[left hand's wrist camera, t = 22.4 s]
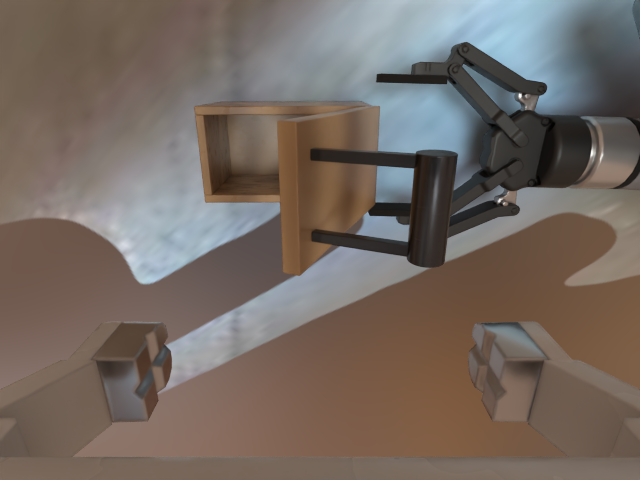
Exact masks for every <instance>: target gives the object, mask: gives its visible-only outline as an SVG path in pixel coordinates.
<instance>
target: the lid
mask: <svg viewBox="0 0 640 480" xmlns="http://www.w3.org/2000/svg"><path fill="white" fill-rule="evenodd" d="M379 116H380V106H365V107H358V108H352V109H346V110H340V111H334V112H328V113H322V114H316V115H310V116H304V117H298V118H292V119H286V120H280V121H277V138H278V162H279V186H280V209H281V233H282V257H283V272H284V273H288V274H293V275H298V276H300V275H301V274H302V273H303V272H304V271H305V270H307V269H308V268H309V267H310V266H311V265H312V264H313V263H314V262H315V261H316V260H317V259H318V258H319V257H320V256H321V255H322V254H323V253H324V252H325V251H326V250H328V249H329V248H330V247H331V246H332V245H337V246H343V247H349V248H356V249H362V250H368V251H375V252H381V253H387V254H394V255H400V256H406V257H407V260H408V261H409V262H410V263H412V264H414V265H416V266H420V267H429V268H431V267H439V266H441V265H443V264H444V262H445V254H446V246H447V237H448V229H449V221H450V213H451V205H452V197H453V189H454V181H455V173H456V165H457V157H458V154H457V153H455V152H452V151H445V150H421V151H417V152H416V154H415V153H399V152H382V151H378V136H379ZM377 166H389V167H403V168H414V178H413V190H412V202H411V214H410V225H409V237H408V242H403V241H396V240H389V239H382V238H375V237H369V236H362V235H355V234H348V233H345V232H346V231H348V230H349V229H350V228H351V227H352V226H353V225H354V224H355V223H356V222H357V221H358V220H359V219H360V218H361V217H362V216H363V215H364V214H365V213H367V212H368V211H369V210H370V209H371V208H372V207H373V206H374V205H375V196H376V176H377Z"/></svg>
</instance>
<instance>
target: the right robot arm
mask: <svg viewBox="0 0 640 480" xmlns="http://www.w3.org/2000/svg"><path fill="white" fill-rule="evenodd" d="M632 12H633V16H634V20H635V23H636V26H637V30H638V34H639V38H640V0H635V2H634V5H633V10H632ZM463 63H464V64H465V65H467V66H468V67H470V68H472V69H473V70H475V71H476V72H478V73H480V74H481V75H483V76H484V77H486V78H487V79H489V80H491V81H492V82H494V83H495V84H497V85H499V86H500V87H502V88H503V89H505V90H507V91H509V92H513V93H515V95H514V98H515V100H516V101H517V102H519V103H520V104H521V110H518V111H516V112H515V113H513V114H511V115H510V116H508V115H507V114H506V113H505V112H504V111H502V110H501V109H500V108H499V107H498V106H497V105H496V104H495V103H494V102H493V100H492V99H491V98H490V97H489V96H488V95H487V94H486V93H485V92H484V91H483V89H482V88H481V87H480V86H479V85H478V84H477V83H476V82H475V81H474V79H473V78H472V77H471V76H470V75H469V74H468V73H467V72H466V71H465V69H464V68H463V67H462V65H463ZM447 80H448V81H449V82H450V83H451V84H452V85H453V86H454V87H455V88H456V90H457V91H458V92H459V93H460V94H461V95H462V96H463V97H464V98H465V99H466V100H467V101H468V102H469V104H470V105H471V106H472V107H473V108H474V109H475V110H476V111H477V112H478V113H479V114H480V115H481V117H482V119H483V120H484V121H485V122H486V123H487V125H488V126H489V127H490V129H489V130H488V132H487V133H486V134H484V138H483V151H482V153H481V156H480V161H479V163H480V164H481V167H482V169H481V170H480V171H478V172H477V173H475V174H474V175H473V176H472V178H471V179H470V180H469V181H467V182H466V183H464V184H463V185H461V186H460V187H459V188H457V189H456V190H454V191H453V197H452V205H451V213H450V216H451V215H453V214H454V213H456V212H457V211H459V210H460V209H461V208H463V207H464V206H466V205H467V204H469V203H470V202H471V201H473V200H474V199H476V198H477V197H479V196H480V195H482V194H483V193H484V192H488V191H491V190H492V189H494V188H495V187H497V186H498V185H500V186H501V187H503V188H504V192H503V193H502V194H500V195H498V196H495V197H494V200H492V201H487V202H484V203H482V204H479V205H477V206H475V207H472V208H470V209H467V210H465V211H463V212H460V213H458V214H456V215H453V216H451V217H450V221H449V229H448V237H447V238H449V237H451V236H453V235H456V234H458V233H461V232H463V231H465V230H468V229H470V228H473V227H475V226H478V225H480V224H482V223H485V222H487V221H490V220H492V219H495V218H497V217H503V216H514V215H517V214H518V213H519V211H520V208H519V206H517V205H516V195H517V190H519V189H521V188H525V187H546V188H566V187H570V188H590V189H632V190H640V118H625V117H600V116H582V117H578V116H565V115H539V114H537V113H536V112H534V110H535V107H536V104H537V101H538V98H539V95H543V94H544V93H545V92H546V90H547V85H546V84H545V83H543V82H536V81H530V80H526V79H524V78H523V77H521V76H520V75H518V74H516V73H515V72H513V71H512V70H510V69H509V68H507V67H506V66H504V65H502V64H501V63H499V62H498V61H496V60H495V59H493V58H491V57H490V56H488V55H487V54H485V53H484V52H482V51H481V50H479V49H477V48H476V47H474V46H473V45H471V44H470V43H467V42H464V43H461V44H457V45H455V46H453V47H452V49H451V54H450V56H449V58H448V60H447V61H446V62H444V63H435V62H419V63H416V64H413V65H412V71H411V75H408V74H377V80H376V82H384V83H419V84H447ZM368 212H369V215H370V216H396V219H397V221H398V223H400V224H403V225H410V214H411V203H376V202H375V205H374V206H373V207H372V208H371V209H370V210H369V211H368Z"/></svg>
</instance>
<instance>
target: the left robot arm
mask: <svg viewBox="0 0 640 480" xmlns="http://www.w3.org/2000/svg"><path fill="white" fill-rule="evenodd" d="M167 338H168V334H167V329H166V325H165V324H164V323H162V322H104V323H101V324H100V325H99V327H98V328H97V329H96V330H95V331H94V332H93V333H92V334H91V335H90V336H89V337H88V338H87V339H86V341H85V342H84V343H83V344H82V345H81V346H80V347H79V348H78V349H77V350H76V351H75V352H74V354H73V355H72V356H71V357H70V358H69V359H68V360H60V361H58V362H56V363H54V364H52V365H50V366H48V367H46V368H44V369H42V370H39V371H37V372H35V373H33V374H31V375H29V376H27V377H25V378H23V379H21V380H19V381H17V382H14V383H12V384H10V385H8V386H6V387H4V388H2V389H0V480H640V389H638V388H636V387H634V386H632V385H630V384H628V383H625V382H623V381H621V380H619V379H617V378H615V377H613V376H611V375H609V374H607V373H605V372H603V371H600V370H598V369H596V368H594V367H592V366H590V365H588V364H586V363H584V362H582V361H580V360H572V359H571V358H570V357H569V356H568V355H567V354H566V352H565V351H564V350H563V349H562V348H561V347H560V346H559V345H558V344H557V343H556V342H555V340H554V339H553V338H552V337H551V336H550V335H549V334H548V333H547V332H546V331H545V330H544V329H543V327H542V326H541V325H540V324H539V323H537V322H534V321H529V322H503V323H476V324H475V326H474V328H473V333H472V338H473V339H474V341H475V343H476V345H475V346H474V347H473V348H472V349H471V350H470V351H469V358H468V367H469V374H470V377H471V380H472V383H473V384H474V387H475V388H477V389H478V390H479V391H481V392H482V393H483V395H482V402H483V404H484V406H485V408H486V410H487V412H488V414H489V416H490V418H491V420H492V421H498V422H528V424H529V425H530V426H531V427H532V428H533V429H535V430H536V431H537V432H538V433H539V434H541V435H542V436H543V437H544V438H546V439H547V440H548V441H549V442H550V443H552V444H553V445H554V446H555V447H557V448H558V449H559V450H560V451H561V452H563V453H564V454H565V455H566V456H568V457H73V456H74V455H75V454H76V453H77V452H79V451H80V450H81V449H82V448H84V447H85V446H86V445H87V444H88V443H90V442H91V441H92V440H93V439H94V438H96V437H97V436H98V435H99V434H101V433H102V432H103V431H104V430H106V429H107V428H108V427H109V426H110V425H112V422H140V421H148V420H149V418H150V416H151V414H152V412H153V410H154V408H155V406H156V404H157V402H158V395H157V393H158V392H159V391H161V390H162V389H163V388H165V387H166V385H167V382H168V380H169V378H170V373H171V369H172V357H171V351H170V350H169V349H168V348H167V347H166V346H165V345H164V343H165V341H166V339H167Z"/></svg>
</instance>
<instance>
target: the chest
mask: <svg viewBox="0 0 640 480" xmlns="http://www.w3.org/2000/svg"><path fill="white" fill-rule="evenodd" d="M365 106H371V105H369V104H366V103H364V102H362V101H285V102H217V103H211V104H205V105H200V106H195V107H194V108H195V115H196V116H195V117H196V125H197V134H198V143H199V151H200V160H201V169H202V178H203V186H204V194H205V202H206V203H209V202H280V186H279V162H278V138H277V121H280V120H286V119H292V118H298V117H304V116H310V115H316V114H322V113H328V112H334V111H340V110H346V109H352V108H358V107H365Z"/></svg>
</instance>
